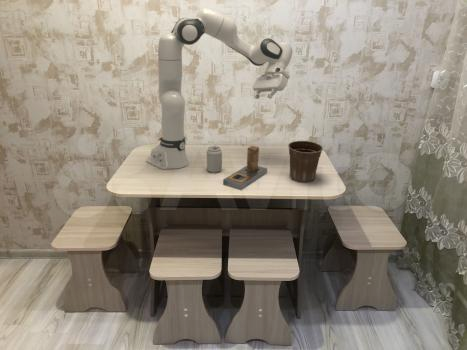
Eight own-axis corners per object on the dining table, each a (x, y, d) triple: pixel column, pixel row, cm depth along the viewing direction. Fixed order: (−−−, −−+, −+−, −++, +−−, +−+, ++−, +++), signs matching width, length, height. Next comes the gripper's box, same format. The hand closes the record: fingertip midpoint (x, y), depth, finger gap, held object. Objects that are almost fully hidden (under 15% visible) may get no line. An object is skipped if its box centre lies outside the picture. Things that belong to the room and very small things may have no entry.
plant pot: (324, 183, 186) (328, 151, 180) (291, 185, 184) (293, 152, 177) (312, 170, 201) (316, 140, 194) (282, 171, 199) (284, 141, 192)
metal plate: (223, 184, 183) (223, 179, 182) (249, 168, 202) (250, 163, 201) (241, 189, 178) (241, 184, 177) (266, 172, 197) (267, 167, 196)
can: (223, 168, 201) (224, 146, 196) (218, 174, 194) (218, 151, 189) (210, 166, 203) (210, 144, 198) (204, 172, 196) (204, 149, 191)
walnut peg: (246, 174, 194) (247, 147, 189) (250, 172, 197) (251, 145, 192) (253, 176, 192) (254, 149, 187) (257, 173, 195) (258, 147, 190)
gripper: (256, 71, 200) (245, 95, 198) (284, 68, 184) (272, 93, 182) (264, 78, 204) (253, 101, 202) (292, 76, 188) (281, 101, 185)
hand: (262, 98), depth 192 cm, fingers open, 8 cm apart
